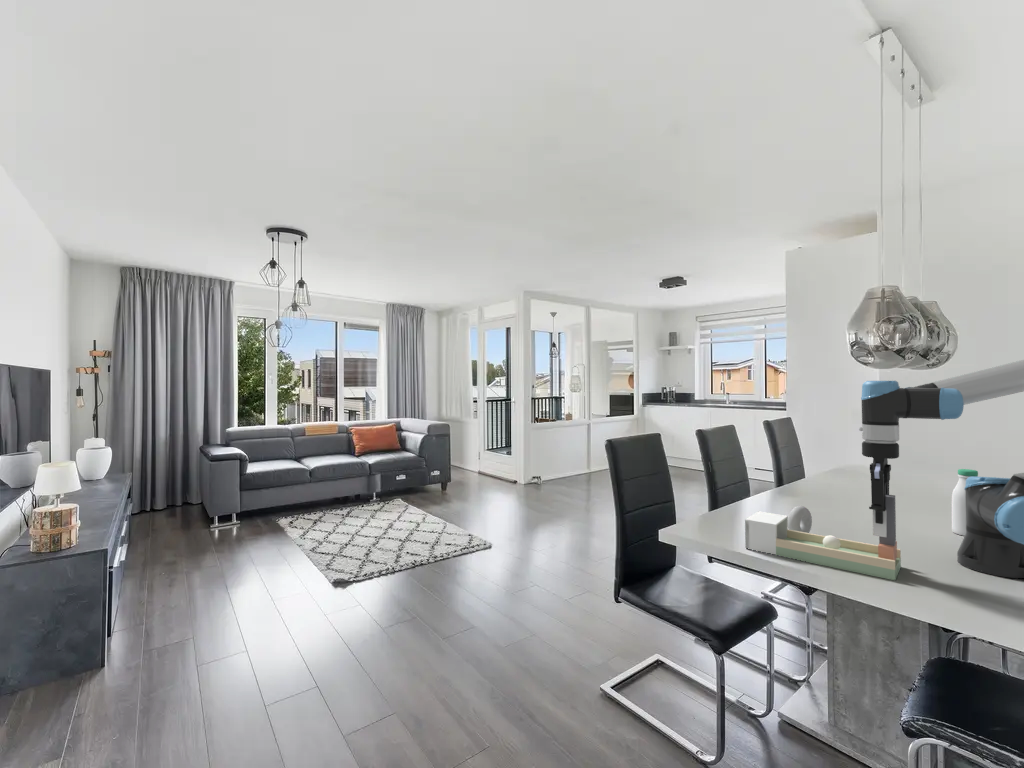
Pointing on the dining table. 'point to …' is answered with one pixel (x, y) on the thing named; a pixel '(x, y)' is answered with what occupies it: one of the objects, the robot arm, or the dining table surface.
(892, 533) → the striker
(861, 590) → the dining table surface
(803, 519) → the donut
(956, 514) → the milk bottle
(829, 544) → the ball
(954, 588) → the dining table surface
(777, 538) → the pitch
